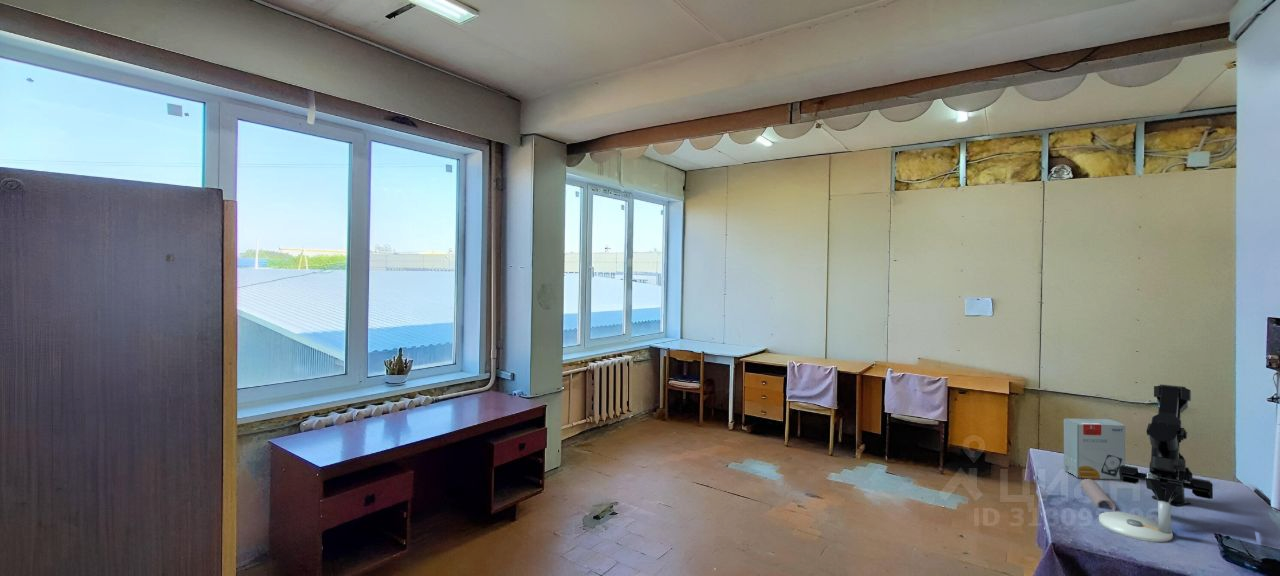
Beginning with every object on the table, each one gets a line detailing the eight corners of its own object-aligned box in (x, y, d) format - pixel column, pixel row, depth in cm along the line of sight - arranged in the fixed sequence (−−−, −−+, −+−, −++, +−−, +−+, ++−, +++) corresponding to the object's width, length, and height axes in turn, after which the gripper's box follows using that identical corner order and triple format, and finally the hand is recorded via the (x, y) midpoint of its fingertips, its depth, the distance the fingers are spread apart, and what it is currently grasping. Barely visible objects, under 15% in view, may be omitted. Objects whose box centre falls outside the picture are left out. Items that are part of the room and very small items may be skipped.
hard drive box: (1077, 479, 180) (1076, 424, 180) (1063, 470, 188) (1061, 417, 188) (1127, 480, 178) (1125, 424, 177) (1110, 471, 185) (1109, 418, 185)
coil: (1078, 477, 172) (1095, 499, 156) (1096, 478, 170) (1115, 500, 154) (1080, 491, 172) (1098, 514, 156) (1098, 492, 170) (1118, 515, 154)
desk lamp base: (1102, 510, 155) (1102, 481, 154) (1173, 527, 143) (1173, 495, 143) (1095, 528, 145) (1094, 496, 144) (1171, 548, 133) (1170, 513, 133)
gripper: (1118, 438, 153) (1115, 485, 146) (1212, 452, 139) (1212, 505, 132) (1122, 457, 158) (1119, 503, 151) (1212, 472, 144) (1213, 524, 137)
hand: (1163, 508), depth 143 cm, fingers closed
